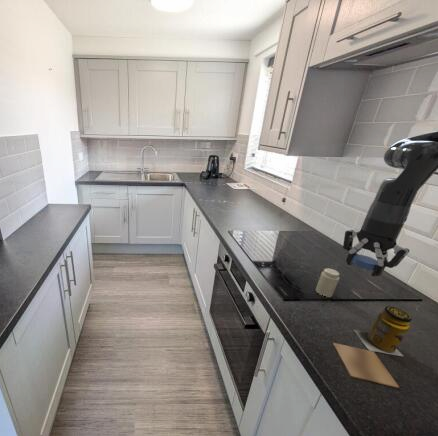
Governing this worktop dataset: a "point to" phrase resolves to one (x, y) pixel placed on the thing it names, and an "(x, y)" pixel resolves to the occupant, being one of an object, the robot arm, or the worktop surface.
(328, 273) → the jar
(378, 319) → the condiment
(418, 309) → the worktop surface
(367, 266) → the lid
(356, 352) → the coaster
